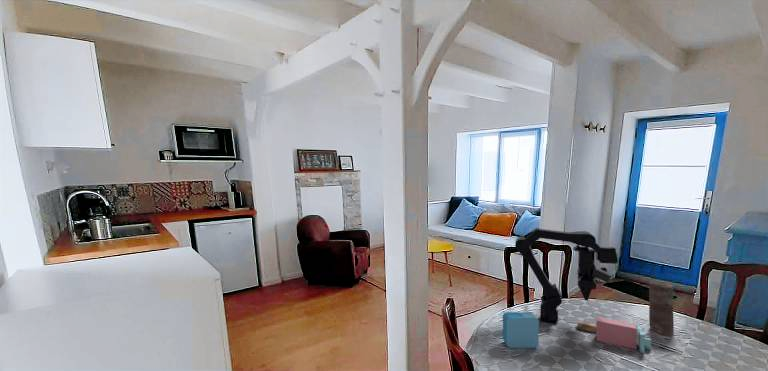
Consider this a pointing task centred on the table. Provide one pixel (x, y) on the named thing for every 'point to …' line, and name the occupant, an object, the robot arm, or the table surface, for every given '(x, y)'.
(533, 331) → the data package
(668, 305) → the brown tall block
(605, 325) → the boxed book
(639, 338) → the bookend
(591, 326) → the rail
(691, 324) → the table surface
